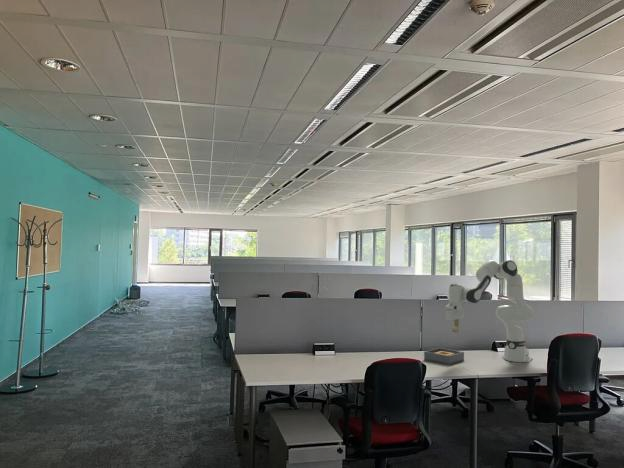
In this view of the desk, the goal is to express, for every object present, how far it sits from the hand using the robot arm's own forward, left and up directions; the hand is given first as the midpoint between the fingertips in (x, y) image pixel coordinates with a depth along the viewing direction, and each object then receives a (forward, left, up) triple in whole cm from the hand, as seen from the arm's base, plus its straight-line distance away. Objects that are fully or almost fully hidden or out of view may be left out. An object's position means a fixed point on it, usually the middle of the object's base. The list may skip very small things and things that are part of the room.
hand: (455, 325), depth 328 cm
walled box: (+4, -7, -25) cm, 26 cm away
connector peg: (0, 0, -4) cm, 4 cm away
